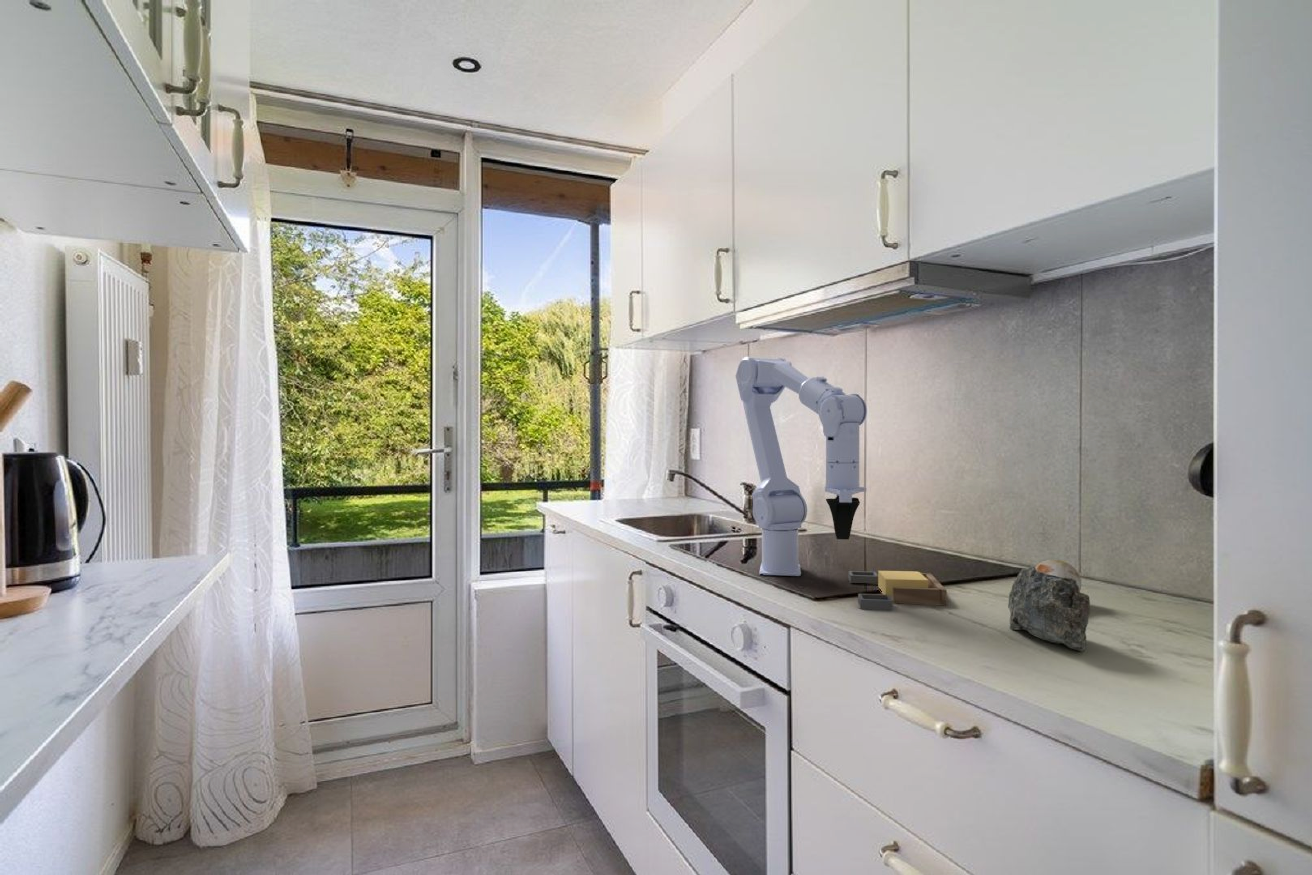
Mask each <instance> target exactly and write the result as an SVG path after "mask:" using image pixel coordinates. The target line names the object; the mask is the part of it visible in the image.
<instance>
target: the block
mask: <svg viewBox="0 0 1312 875" xmlns="http://www.w3.org/2000/svg"><path fill="white" fill-rule="evenodd" d="M877 572H878V573H877V575H878V584H877V585H878V586H877V588H878V587H879V588H880V589H881V591H882V592H881V591H880V592H881V594H883V595H890V597H891V598H892V599H893V587H912V588H928V579H927V578H925V577H924V576H923V575H922V574H921V573H922V572H920V571H916V570H915V571H912V570H911V571H910V570H909V571H907V570H905V571H903V570H902V571H901V570H878V571H877Z"/></svg>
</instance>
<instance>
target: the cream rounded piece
mask: <svg viewBox="0 0 1312 875" xmlns="http://www.w3.org/2000/svg"><path fill="white" fill-rule="evenodd" d="M1035 569H1036V570H1037V571H1039V572H1043V573H1047V574H1050V575H1054V576H1059V577H1062V578H1067V579H1070V578H1072V579H1074V580H1076V583H1077V585H1078V587H1079V592H1080V593H1081V589H1082V579H1081V575H1080V573H1079V572H1078V571H1077V569H1076V568H1075V567H1074V566H1072V565H1071V564H1069V563H1067V562H1066V561H1063V560H1060V559H1047V560H1043V561H1041V562H1040V563H1038V564H1037V565H1036V566H1035Z"/></svg>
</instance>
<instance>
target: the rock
mask: <svg viewBox="0 0 1312 875" xmlns="http://www.w3.org/2000/svg"><path fill="white" fill-rule="evenodd" d="M1035 567H1036V566H1035ZM1035 567H1034V566H1030V567H1027V568H1023V569H1021V570H1020V572H1019V573H1018V574H1017V576H1016V578H1015V579H1014V582H1013V584H1012V586H1011V590H1010V591H1009V593H1008V604H1007V607H1008V608H1007V609H1008V610H1009V612H1010V614H1009V629H1010V630H1012V631H1013V630H1014V631H1015V630H1018V631H1019V630H1020V631H1021V630H1025V631H1027V632H1028V633H1029V634H1031V635H1032V636H1034V637H1036V638H1039V639H1041V640H1043V641H1048V642H1050V643H1053V644H1064V645H1065V646H1067V648H1069V649H1072V650H1076V651H1079V652H1083V651H1084V650H1085V649H1086V647H1087V635H1086V632H1087V627H1088V625H1089V617H1090V614H1091V601H1090V600H1091V599H1090V596H1089V595H1088V594H1085V593H1084V592H1081V591H1080V592H1079V587H1078V585H1077V583H1076V580H1074V579H1072V578H1070V579H1067V578H1062V577H1059V576H1054V575H1050V574H1047V573H1043V572H1039V571H1037V570H1036V569H1035Z"/></svg>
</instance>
